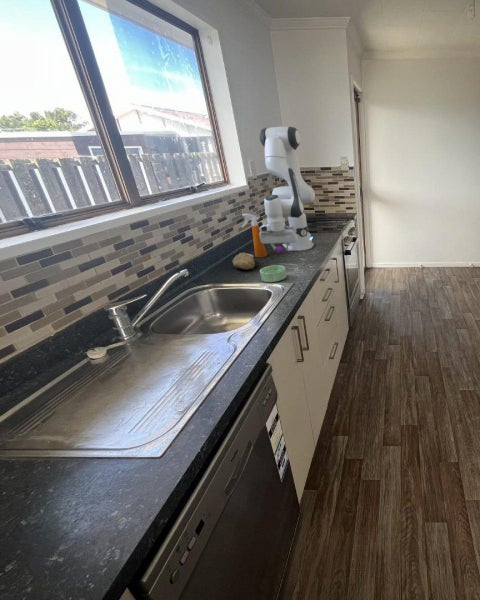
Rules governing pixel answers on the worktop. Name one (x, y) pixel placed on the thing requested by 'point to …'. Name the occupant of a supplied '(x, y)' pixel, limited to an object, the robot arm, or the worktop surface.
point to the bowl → (273, 273)
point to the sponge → (244, 261)
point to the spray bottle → (255, 235)
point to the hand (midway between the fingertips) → (281, 250)
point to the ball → (281, 249)
